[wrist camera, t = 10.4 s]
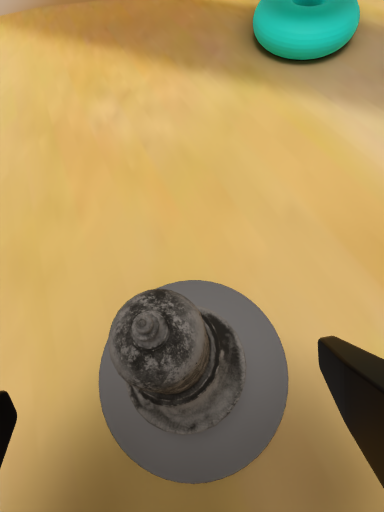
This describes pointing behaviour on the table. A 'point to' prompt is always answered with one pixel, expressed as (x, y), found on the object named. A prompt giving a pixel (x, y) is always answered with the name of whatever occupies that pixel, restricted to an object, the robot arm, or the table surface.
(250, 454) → the charcoal mat
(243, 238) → the table surface
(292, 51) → the donuts
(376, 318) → the table surface
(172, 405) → the dark grey tall piece
